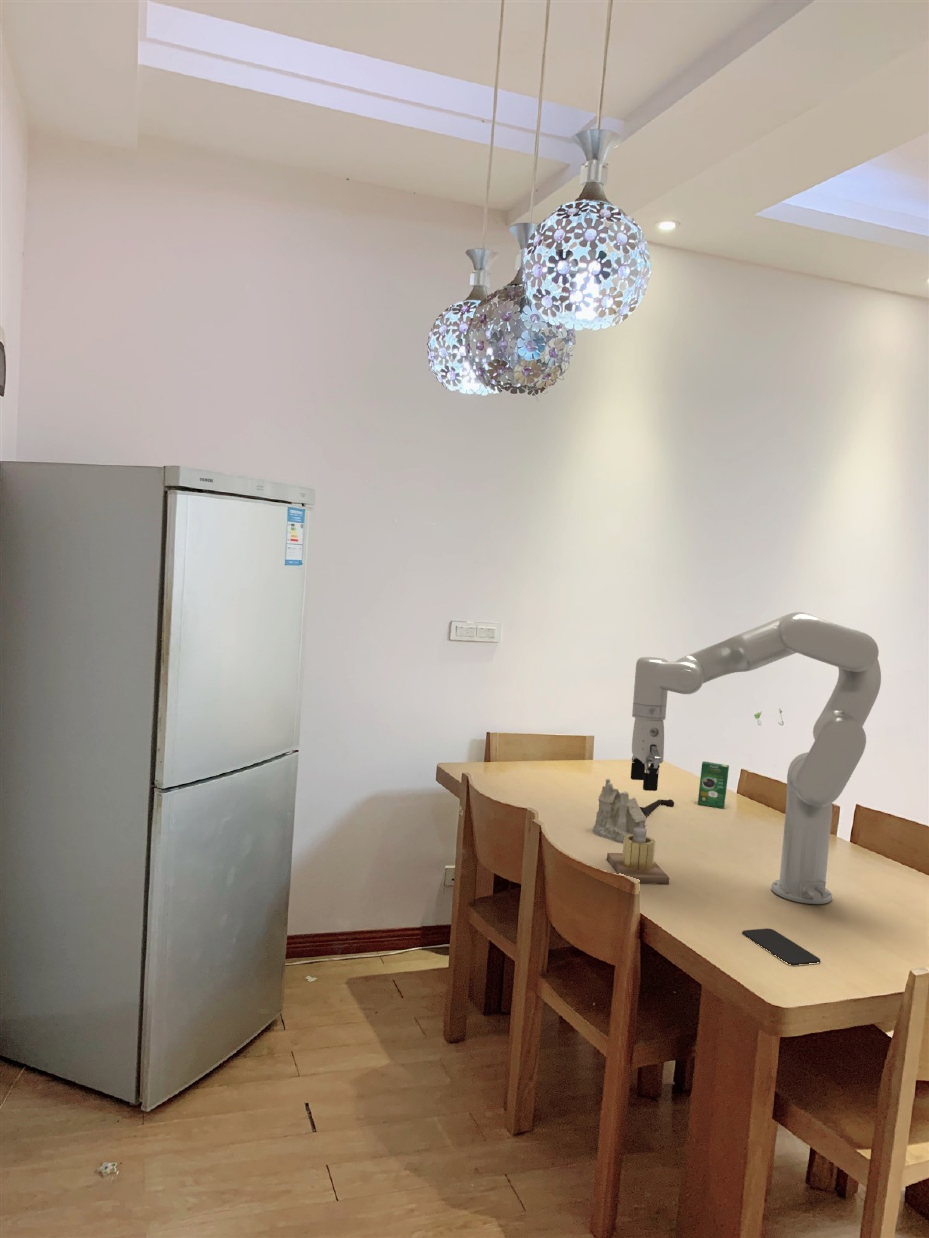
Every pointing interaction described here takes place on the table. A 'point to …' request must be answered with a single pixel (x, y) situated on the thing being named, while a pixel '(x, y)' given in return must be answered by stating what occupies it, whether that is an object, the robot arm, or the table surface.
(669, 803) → the wrench
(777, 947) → the phone
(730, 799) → the table surface
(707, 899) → the table surface
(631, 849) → the ring
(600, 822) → the ceramic cottage
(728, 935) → the table surface
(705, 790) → the coffee box
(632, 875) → the post board
